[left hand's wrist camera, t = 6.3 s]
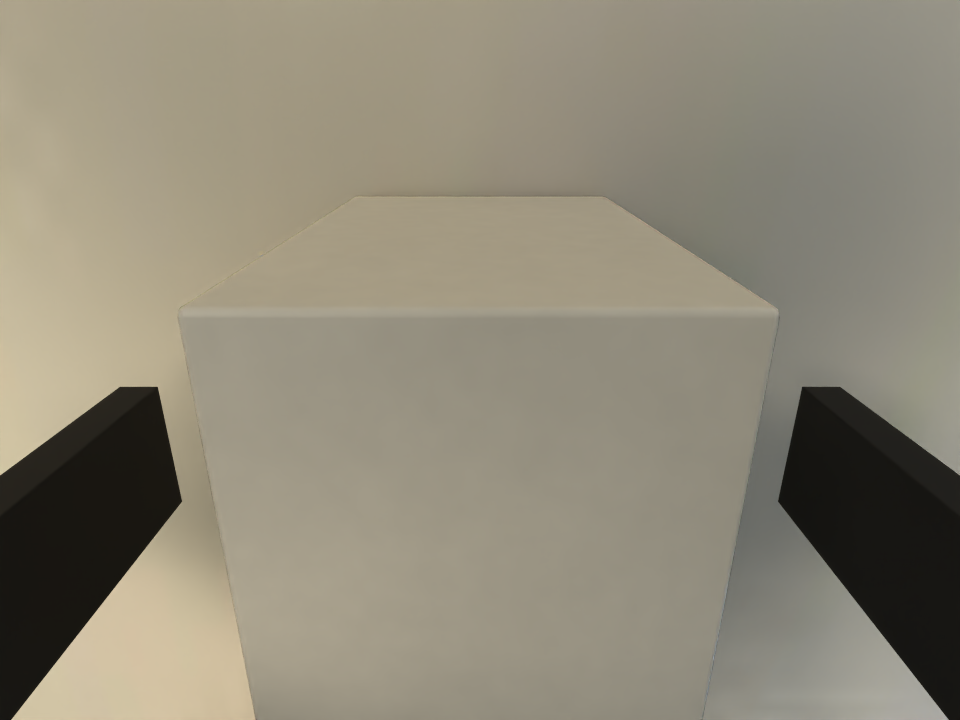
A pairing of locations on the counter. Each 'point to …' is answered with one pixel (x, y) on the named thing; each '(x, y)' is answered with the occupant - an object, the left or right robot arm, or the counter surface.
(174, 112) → the counter surface
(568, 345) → the post
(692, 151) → the counter surface
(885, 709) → the counter surface
